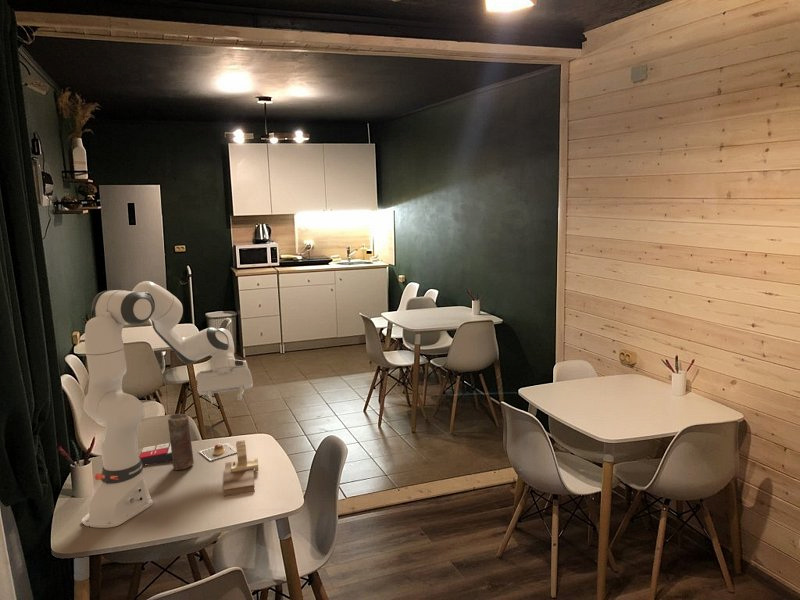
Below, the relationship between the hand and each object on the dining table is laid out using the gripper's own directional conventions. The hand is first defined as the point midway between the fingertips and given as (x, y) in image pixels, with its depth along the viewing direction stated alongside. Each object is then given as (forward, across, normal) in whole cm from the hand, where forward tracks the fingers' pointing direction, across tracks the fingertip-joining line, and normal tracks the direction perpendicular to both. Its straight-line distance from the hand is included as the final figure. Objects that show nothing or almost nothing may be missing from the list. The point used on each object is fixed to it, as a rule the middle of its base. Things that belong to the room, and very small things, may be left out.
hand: (226, 401), depth 233 cm
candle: (+15, -18, +19) cm, 31 cm away
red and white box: (+7, -28, +28) cm, 40 cm away
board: (+29, +2, +5) cm, 29 cm away
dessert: (+10, -6, +26) cm, 28 cm away
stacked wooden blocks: (+24, +4, +8) cm, 26 cm away
